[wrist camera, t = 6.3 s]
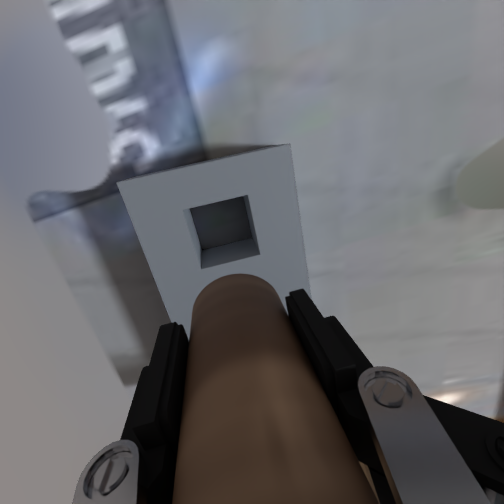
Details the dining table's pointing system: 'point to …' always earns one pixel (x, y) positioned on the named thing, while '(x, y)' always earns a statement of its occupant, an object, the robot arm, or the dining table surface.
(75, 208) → the dining table surface
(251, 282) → the peg
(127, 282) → the dining table surface
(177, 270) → the socket block
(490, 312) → the dining table surface
